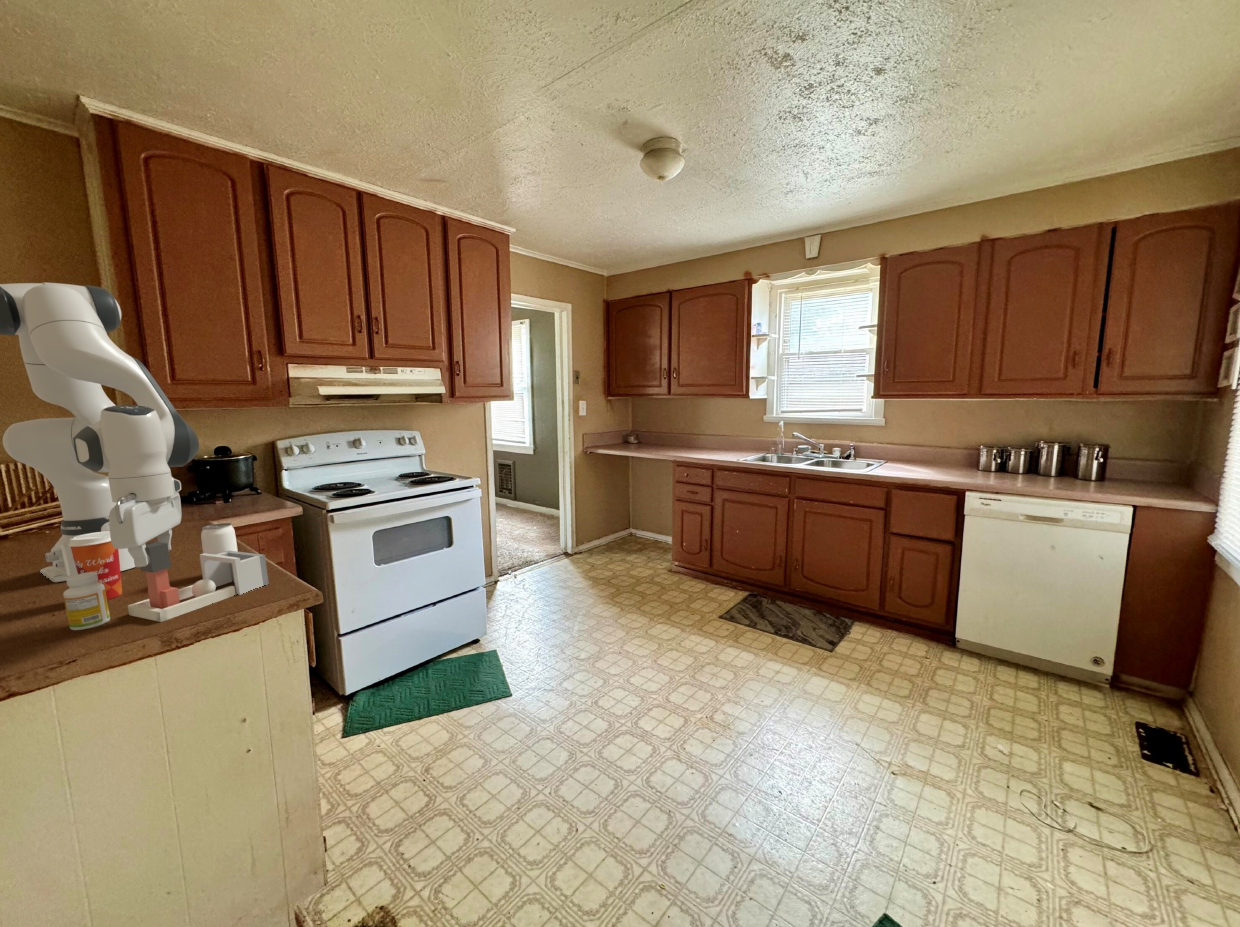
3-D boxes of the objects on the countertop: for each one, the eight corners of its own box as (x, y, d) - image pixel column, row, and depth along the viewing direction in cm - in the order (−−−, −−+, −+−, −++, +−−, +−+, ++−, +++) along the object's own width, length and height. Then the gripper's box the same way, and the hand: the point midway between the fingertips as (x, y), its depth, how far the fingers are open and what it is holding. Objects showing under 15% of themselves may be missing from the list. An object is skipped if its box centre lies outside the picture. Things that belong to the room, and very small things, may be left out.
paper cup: (71, 607, 105) (58, 542, 103) (88, 595, 111) (77, 533, 109) (121, 599, 108) (110, 536, 106) (135, 587, 115) (125, 528, 113)
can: (221, 578, 119) (214, 529, 117) (199, 577, 120) (192, 529, 119) (247, 569, 125) (240, 522, 124) (225, 568, 127) (219, 522, 125)
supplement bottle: (89, 619, 98) (80, 571, 97) (118, 617, 99) (110, 569, 98) (61, 631, 93) (51, 581, 92) (92, 629, 94) (83, 579, 92)
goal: (204, 588, 113) (199, 554, 112) (234, 579, 118) (229, 546, 117) (240, 594, 108) (235, 559, 107) (268, 584, 114) (264, 550, 113)
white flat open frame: (129, 615, 100) (127, 605, 99) (204, 590, 112) (203, 581, 112) (161, 621, 96) (159, 612, 96) (235, 595, 108) (234, 586, 108)
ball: (188, 600, 106) (185, 582, 106) (209, 593, 110) (206, 575, 110) (200, 602, 105) (197, 584, 104) (221, 595, 109) (218, 577, 108)
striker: (144, 611, 100) (133, 545, 98) (162, 605, 103) (152, 541, 101) (163, 615, 98) (152, 547, 96) (181, 609, 101) (170, 543, 99)
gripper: (138, 497, 89) (150, 572, 91) (184, 480, 108) (193, 543, 109) (90, 501, 86) (104, 578, 88) (146, 483, 105) (156, 547, 107)
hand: (154, 558), depth 99 cm, fingers open, 8 cm apart
